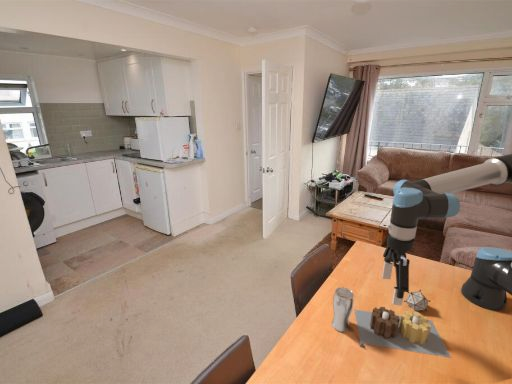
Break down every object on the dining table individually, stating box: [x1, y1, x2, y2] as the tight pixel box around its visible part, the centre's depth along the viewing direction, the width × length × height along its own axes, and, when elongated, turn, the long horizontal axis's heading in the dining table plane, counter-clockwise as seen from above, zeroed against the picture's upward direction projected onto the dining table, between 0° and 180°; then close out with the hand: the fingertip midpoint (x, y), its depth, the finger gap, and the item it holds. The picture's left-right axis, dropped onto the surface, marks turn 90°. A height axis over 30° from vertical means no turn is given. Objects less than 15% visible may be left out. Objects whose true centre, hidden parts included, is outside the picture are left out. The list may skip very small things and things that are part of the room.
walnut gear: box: [370, 306, 400, 339], centre depth 96 cm, size 9×9×6 cm
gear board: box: [354, 309, 452, 358], centre depth 95 cm, size 28×16×8 cm, turn 79°
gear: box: [399, 310, 431, 344], centre depth 94 cm, size 9×9×6 cm
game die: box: [403, 288, 431, 312], centre depth 107 cm, size 9×8×10 cm
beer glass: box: [331, 286, 355, 333], centre depth 98 cm, size 7×7×15 cm
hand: (391, 290), depth 92 cm, fingers open, 13 cm apart
